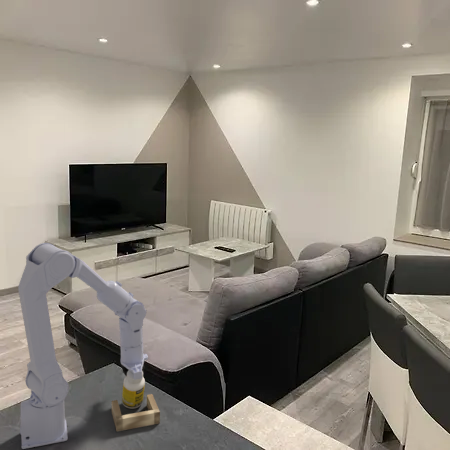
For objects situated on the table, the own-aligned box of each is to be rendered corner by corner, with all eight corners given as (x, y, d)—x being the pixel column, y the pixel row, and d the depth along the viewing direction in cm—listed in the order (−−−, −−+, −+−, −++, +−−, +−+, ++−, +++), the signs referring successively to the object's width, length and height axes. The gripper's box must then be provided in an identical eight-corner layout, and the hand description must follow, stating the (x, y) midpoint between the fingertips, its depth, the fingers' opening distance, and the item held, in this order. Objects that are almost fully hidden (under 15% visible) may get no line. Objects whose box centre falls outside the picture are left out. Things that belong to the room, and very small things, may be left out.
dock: (116, 431, 106) (116, 420, 106) (111, 411, 114) (111, 400, 113) (159, 423, 110) (159, 412, 109) (152, 404, 118) (152, 393, 117)
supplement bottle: (136, 412, 114) (138, 384, 110) (117, 404, 116) (119, 376, 112) (147, 397, 119) (149, 370, 115) (129, 389, 121) (131, 362, 116)
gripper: (153, 352, 112) (155, 401, 115) (141, 328, 125) (143, 373, 128) (124, 358, 109) (127, 408, 112) (115, 332, 122) (117, 378, 125)
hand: (133, 389), depth 120 cm, fingers closed, pressing on supplement bottle
